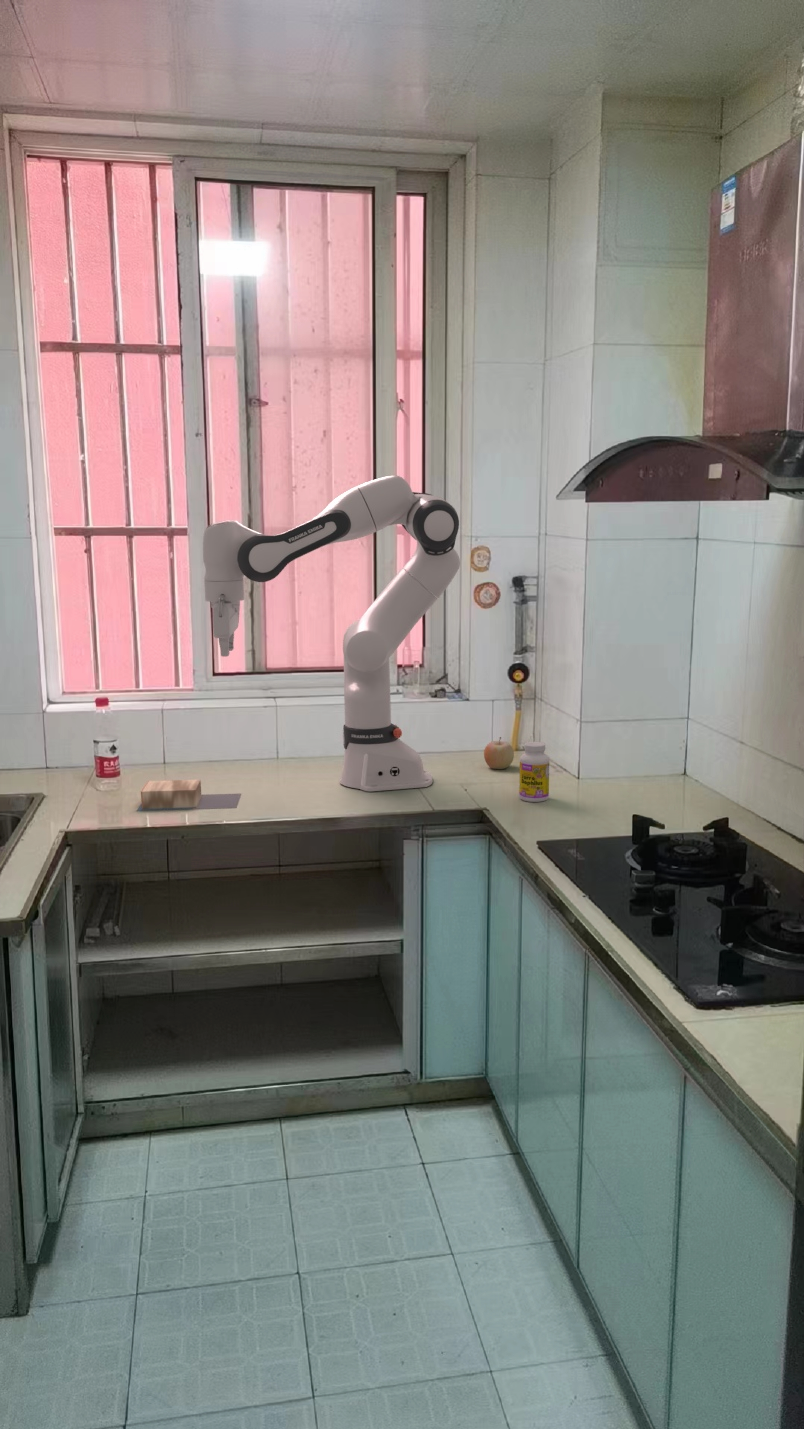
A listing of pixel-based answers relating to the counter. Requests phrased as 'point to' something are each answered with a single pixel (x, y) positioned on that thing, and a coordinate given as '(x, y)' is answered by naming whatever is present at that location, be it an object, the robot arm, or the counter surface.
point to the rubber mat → (208, 802)
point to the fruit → (498, 754)
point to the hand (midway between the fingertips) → (227, 653)
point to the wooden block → (171, 794)
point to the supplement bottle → (534, 773)
